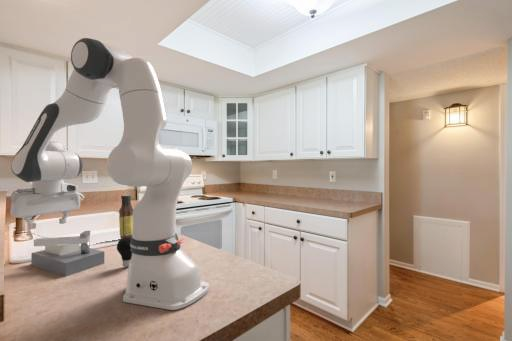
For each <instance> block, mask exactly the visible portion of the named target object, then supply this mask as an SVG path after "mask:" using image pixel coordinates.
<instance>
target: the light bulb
mask: <svg viewBox="0 0 512 341" xmlns="http://www.w3.org/2000/svg"><path fill="white" fill-rule="evenodd" d="M130 243H131V237H124V238H122V239H121V238H120V240H118V242H117V244H116V250H117V252H118V253H119V255H120V256H121V260H122V266H123V267H125V268H129V264H130V261H131V257H132V252H131V246H130Z"/></svg>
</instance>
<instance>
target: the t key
mask: <svg viewBox="0 0 512 341" xmlns="http://www.w3.org/2000/svg"><path fill="white" fill-rule="evenodd" d="M90 236H91V230H85V231H83V232H81V233H79V236H78V235H77V236H59V237H57V236H56V237H43V238H40V237H39V238H36V239H34V240H33V247H45V246H50V245H66V244H79V245H80V246H81V254H87V253H89V248H90V242H91V240H90V238H91V237H90Z"/></svg>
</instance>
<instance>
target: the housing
mask: <svg viewBox="0 0 512 341" xmlns="http://www.w3.org/2000/svg"><path fill="white" fill-rule="evenodd" d="M103 264H105V251H103V250H99V249H95V248H91V247H89V253H87V254H81V245H79V250H78V251H74V252H71V253H67V254H63V255H57V254H53V253H50V252H46V251H45V249H41V250H38V251H34V252H31V266H34V267H37V268H39V269H43V270H46V271H49V272H53V273H54V274H59V275H61V276H64V277H67V276H72V275H73V274H77V273H81V272H83V271H86V270H89V269H91V268H94V267H97V266H100V265H103Z"/></svg>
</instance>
